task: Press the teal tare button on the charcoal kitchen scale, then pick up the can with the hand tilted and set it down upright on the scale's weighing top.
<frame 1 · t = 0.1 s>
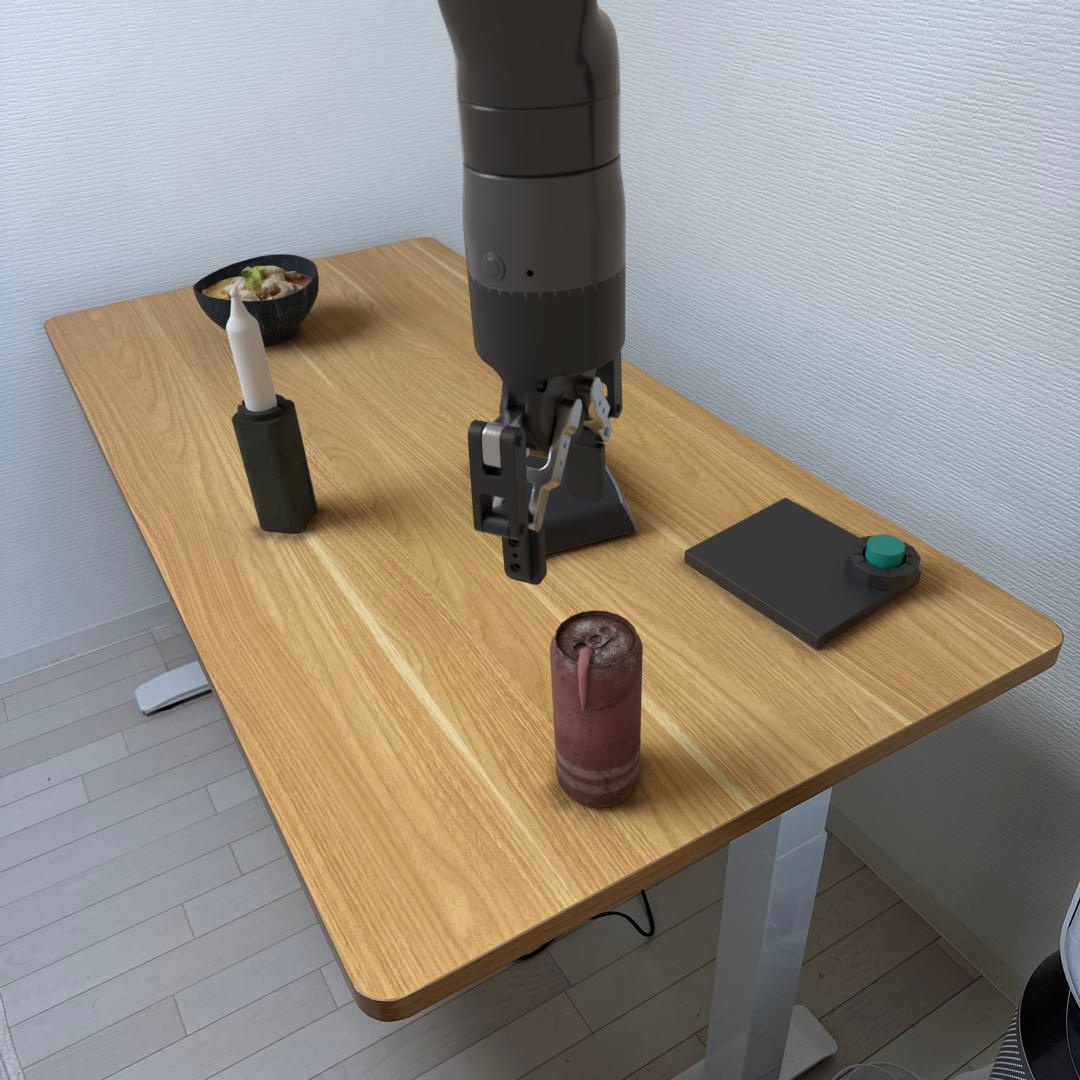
hand: (558, 535, 55), 24 cm above the table, tool pointing down, fingers open, 8 cm apart
scale: (798, 572, 89), on the table
tare button: (885, 551, 86), point 3 cm above the table, slide at 0.1 cm
hard drive: (550, 500, 101), on the table
can: (597, 781, 71), on the table
bowl: (269, 336, 140), on the table
candle: (289, 519, 101), on the table
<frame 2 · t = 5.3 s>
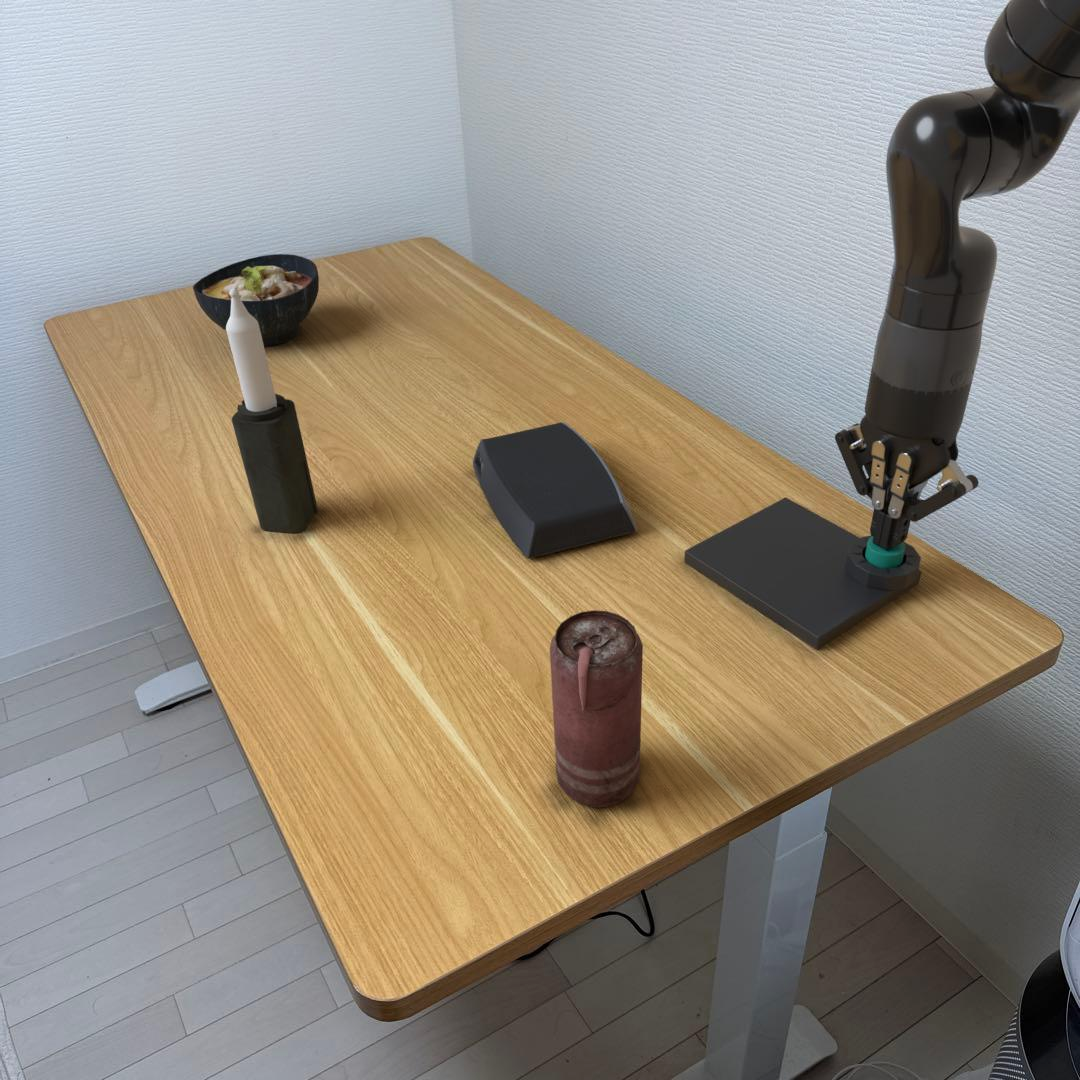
hand: (885, 543, 85), 4 cm above the table, tool pointing down, fingers closed
tare button: (885, 551, 86), point 3 cm above the table, slide at 0.1 cm, touching gripper
everything else where it was.
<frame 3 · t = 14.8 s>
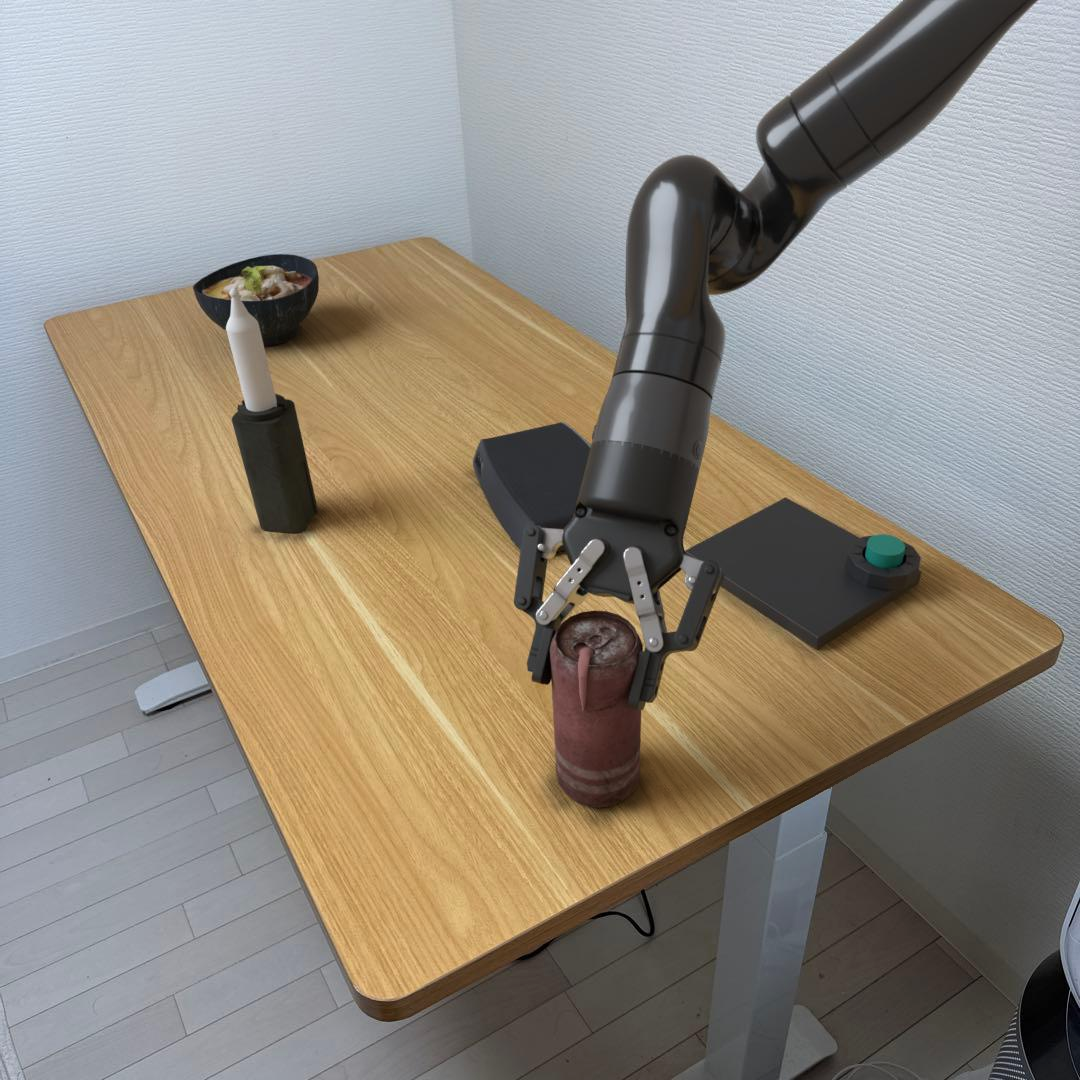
hand: (586, 694, 64), 10 cm above the table, tool tilted 45°, fingers closed on can, 6 cm apart
tare button: (885, 551, 86), point 3 cm above the table, slide at 0.1 cm
can: (597, 781, 71), on the table, touching gripper
everything else where it was.
when the fingers open (12 cm above the table, at t = 26.5 s): can stays where it is, resting on scale.
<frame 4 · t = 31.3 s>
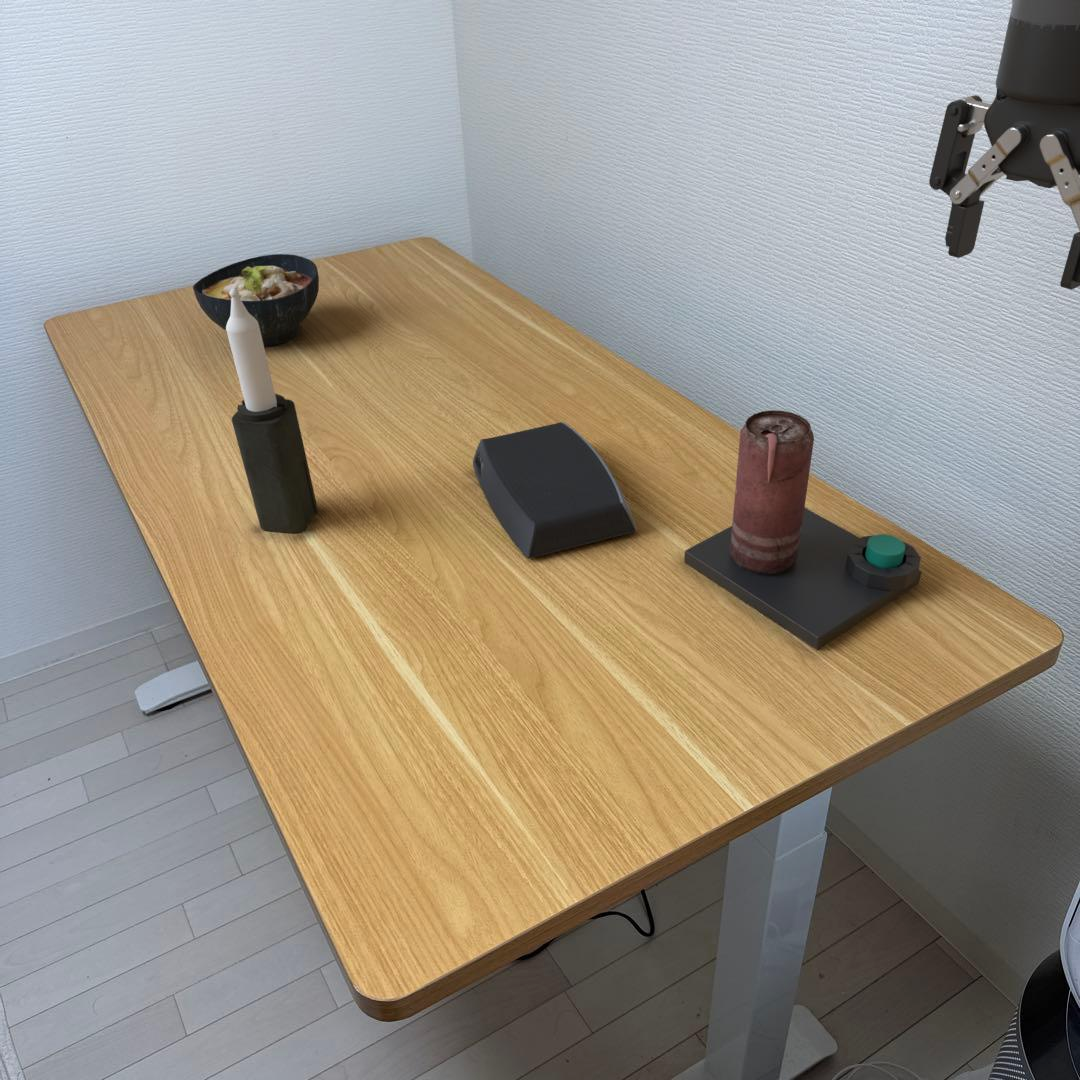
hand: (1013, 269, 68), 30 cm above the table, tool pointing down, fingers open, 8 cm apart
can: (763, 559, 89), point 1 cm above the table, touching scale
everything else where it was.
at the end: tare button pushed in 0.9 cm at the most during the clip, back to where it started at the end; can inside the target area on the scale (0.2 cm from its centre), point 1.2 cm above the scale's base; can tilted 0° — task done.
